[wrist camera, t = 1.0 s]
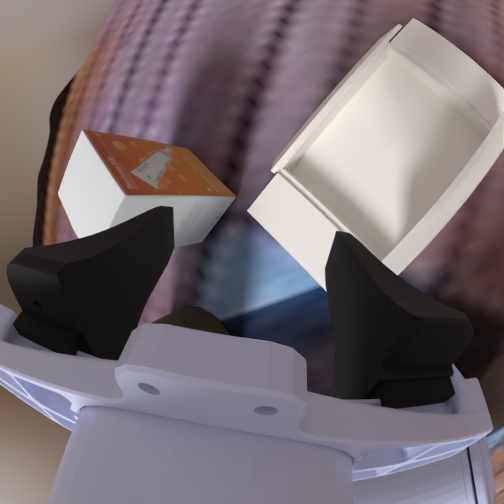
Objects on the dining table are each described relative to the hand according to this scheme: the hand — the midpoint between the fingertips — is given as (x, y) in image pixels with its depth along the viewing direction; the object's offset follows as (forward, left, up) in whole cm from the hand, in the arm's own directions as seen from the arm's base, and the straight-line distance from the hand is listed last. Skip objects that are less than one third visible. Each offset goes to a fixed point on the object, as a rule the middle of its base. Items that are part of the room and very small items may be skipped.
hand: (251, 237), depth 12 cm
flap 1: (+4, -9, -8) cm, 12 cm away
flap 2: (-6, -9, -8) cm, 13 cm away
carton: (-1, -9, -12) cm, 15 cm away
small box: (+11, +6, -12) cm, 18 cm away
